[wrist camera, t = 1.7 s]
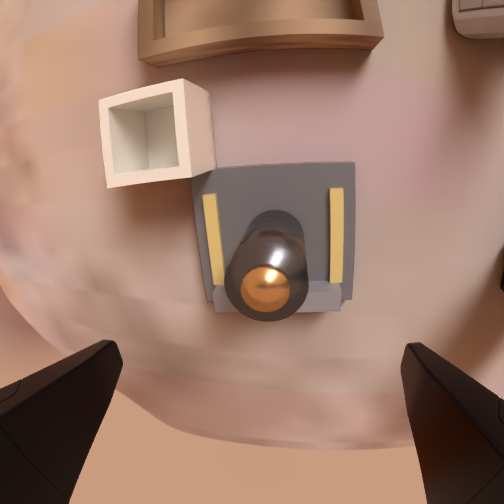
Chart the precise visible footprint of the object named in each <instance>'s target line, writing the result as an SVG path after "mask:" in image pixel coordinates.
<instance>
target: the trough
mask: <svg viewBox="0 0 504 504" xmlns="http://www.w3.org/2000/svg"><path fill="white" fill-rule="evenodd" d="M383 38H384V33H383V28H382V23H381V18H380V13H379V8H378V4H377V0H138V59H139V60H141V61H143V62H146V63H148V64H150V65H152V66H154V67H157V68H159V67H163V66H168V65H172V64H177V63H181V62H186V61H191V60H196V59H202V58H208V57H214V56H220V55H227V54H235V53H243V52H252V51H262V50H275V49H293V48H349V49H367V50H373V49H374V48H375V47H376V45H377V44H378V43H379V42H380V41H381V40H382V39H383Z"/></svg>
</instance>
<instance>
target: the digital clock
mask: <svg viewBox="0 0 504 504" xmlns="http://www.w3.org/2000/svg"><path fill="white" fill-rule="evenodd" d="M452 15H453V20H454V24H455V28H456V30H457V32H458V33H460V34H461V35H463V36H464V37H467V38H473V39H486V38H504V0H452Z"/></svg>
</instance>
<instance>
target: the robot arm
mask: <svg viewBox="0 0 504 504" xmlns="http://www.w3.org/2000/svg"><path fill="white" fill-rule="evenodd" d="M501 290H502V291H503V292H504V274H503V278H502V283H501ZM122 367H123V360H122V357H121V354H120V352H119V349H118V346H117V344H116V342H115V341H113V340H101V341H99V342H97V343H95V344H93V345H91V346H89V347H87V348H85V349H83V350H81V351H79V352H77V353H75V354H73V355H71V356H69V357H67V358H64V359H62V360H60V361H58V362H56V363H54V364H52V365H50V366H48V367H46V368H44V369H42V370H40V371H37V372H35V373H33V374H31V375H29V376H27V377H25V378H23V379H22V380H18V381H17V382H14V383H12V384H10V385H8V386H5V387H3V388H1V389H0V504H69V501H70V500H69V499H70V498H71V496H72V493H73V490H74V488H75V485H76V482H77V479H78V478H79V475H80V472H81V470H82V467H83V465H84V463H85V460H86V458H87V455H88V453H89V450H90V448H91V446H92V443H93V441H94V438H95V436H96V434H97V432H98V429H99V427H100V425H101V423H102V420H103V418H104V416H105V414H106V411H107V409H108V406H109V404H110V402H111V399H112V396H113V393H114V390H115V387H116V384H117V381H118V379H119V376H120V373H121V370H122ZM401 376H402V382H403V388H404V394H405V401H406V407H407V413H408V418H409V422H410V426H411V430H412V434H413V438H414V442H415V446H416V450H417V454H418V458H419V463H420V467H421V473H422V478H423V483H424V488H425V493H426V498H427V504H504V400H503V399H502V398H499V396H497V395H496V394H494V393H493V392H492V391H490V390H489V389H487V388H486V387H484V386H483V385H482V384H480V383H479V382H477V381H476V380H474V379H473V378H471V377H470V376H469V375H467V374H466V373H464V372H463V371H461V370H460V369H458V368H457V367H456V366H454V365H453V364H451V363H450V362H448V361H447V360H445V359H444V358H442V357H441V356H440V355H438V354H437V353H435V352H434V351H432V350H431V349H429V348H428V347H426V346H425V345H423V344H422V343H420V342H415V343H408V344H407V345H406V347H405V351H404V355H403V359H402V363H401Z"/></svg>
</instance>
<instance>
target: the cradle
mask: <svg viewBox="0 0 504 504" xmlns="http://www.w3.org/2000/svg"><path fill="white" fill-rule="evenodd" d="M190 182H191V190H192V199H193V207H194V215H195V223H196V230H197V238H198V245H199V252H200V259H201V266H202V273H203V279H204V286H205V292H206V298H207V302H214V307H215V313H241V312H239V311H238V310H237V309H236V308H235V307H234V306H233V305H232V304H231V302H230V301H229V299H228V297H227V294H226V292H225V287H224V277H225V272H226V269H227V267H228V265H229V263H230V261H231V259H232V257H233V255H234V253H235V251H236V249H237V248H238V246H239V244H240V242H241V240H242V238H243V236H244V234H245V232H246V230H247V228H248V226H249V224H250V223H251V221H252V220H253V219H254V218H255V217H256V216H257V215H258V214H260V213H262V212H264V211H268V210H282V211H285V212H288V213H290V214H291V215H293V216H294V217H295V218H296V219H297V220H298V221H299V223H300V224H301V226H302V228H303V232H304V239H305V248H306V258H307V269H308V280H309V290H308V294H307V297H306V300H305V301H304V303H303V305H302V306H301V307H300V308H299V309H298V310H297V311H296V312H330V311H340V309H341V300H352V289H353V273H354V251H355V163H354V162H306V163H281V164H263V165H248V166H235V167H223V168H215V169H213V170H210V171H207V172H205V173H202V174H199V175H197V176H194V177H190Z"/></svg>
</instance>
